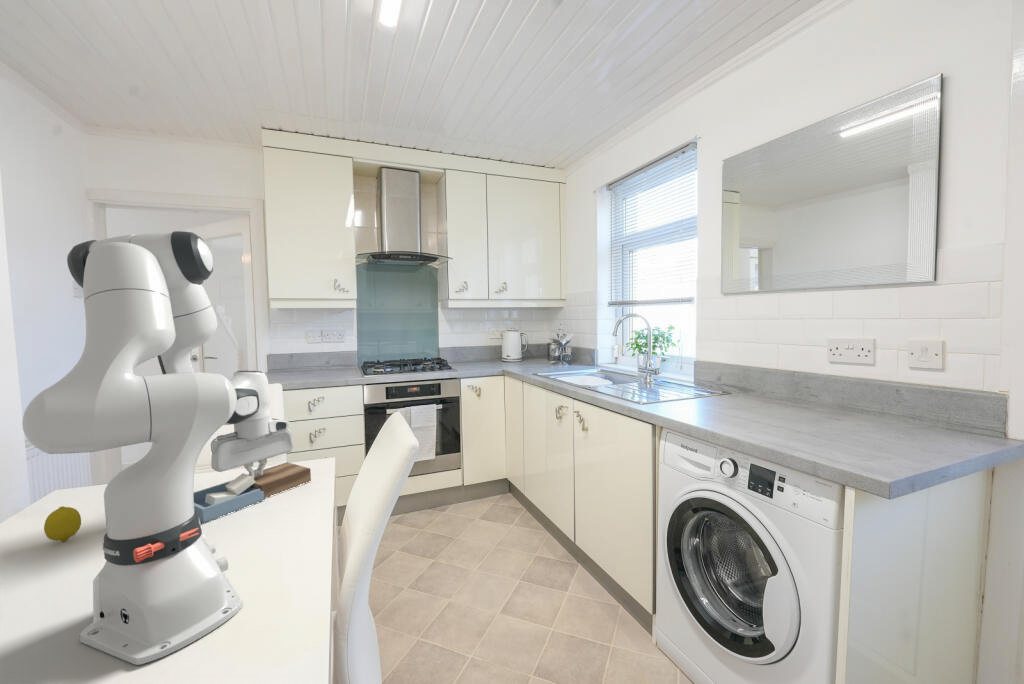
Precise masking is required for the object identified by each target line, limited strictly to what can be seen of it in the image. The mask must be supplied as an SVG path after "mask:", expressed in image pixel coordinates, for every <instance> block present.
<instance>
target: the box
mask: <svg viewBox="0 0 1024 684" xmlns="http://www.w3.org/2000/svg"><path fill="white" fill-rule="evenodd" d="M233 480H234V479H231V480H228V481H226V482H223V483H220V484H217V485H213V486H209V487H207V488H204V489H200V490H197V491H194V509H195V510H196V511H197V514H198V517H199V519H200V523H201V522H202V523H201V524H203V523H205V524H207V523H206V522H208V521H210V522H212V521H211V520H213V519H215V520H217V519H216V518H218V517H220V516H223V515H226V514H228V513H231V512H234V511H236V512H238V511H237V510H239V509H242V508H244V507H247V506H249V505H252V504H255V503H257V502H260V501H262V500H264V501H265V499H264V492H263V491H261V489H255V488H252V487H249V488H247V489H246V490H244V491H243V492H242V493H240V494H239V495H237V496H236V497H234V498H231V499H228V500H225V501H222V502H219V503H217V504H214V505H210V504H208V503H206V502H205V498H206V494H210V493H218V492H226V491H228V490H227V488H226V487H225V486H226V485H227V484H228V483H230V482H231V481H233ZM230 493H231V492H230ZM260 503H261V502H260ZM257 504H258V503H257ZM255 505H256V504H255ZM252 506H253V505H252ZM247 508H248V507H247ZM244 509H245V508H244ZM242 510H243V509H242ZM239 511H240V510H239ZM234 513H235V512H234ZM231 514H232V513H231ZM226 516H227V515H226ZM223 517H224V516H223ZM218 519H219V518H218ZM213 521H214V520H213ZM208 523H209V522H208Z"/></svg>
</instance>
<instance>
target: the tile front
mask: <svg viewBox="0 0 1024 684" xmlns="http://www.w3.org/2000/svg"><path fill="white" fill-rule="evenodd" d="M236 496H237V495H236V494H233V493H230V492H228V491H226V492H218V493H210V494H206V498H205V502H206V503H208V504H210V505H214V504H217V503H219V502H222V501H225V500H228V499H231V498H234V497H236Z"/></svg>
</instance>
